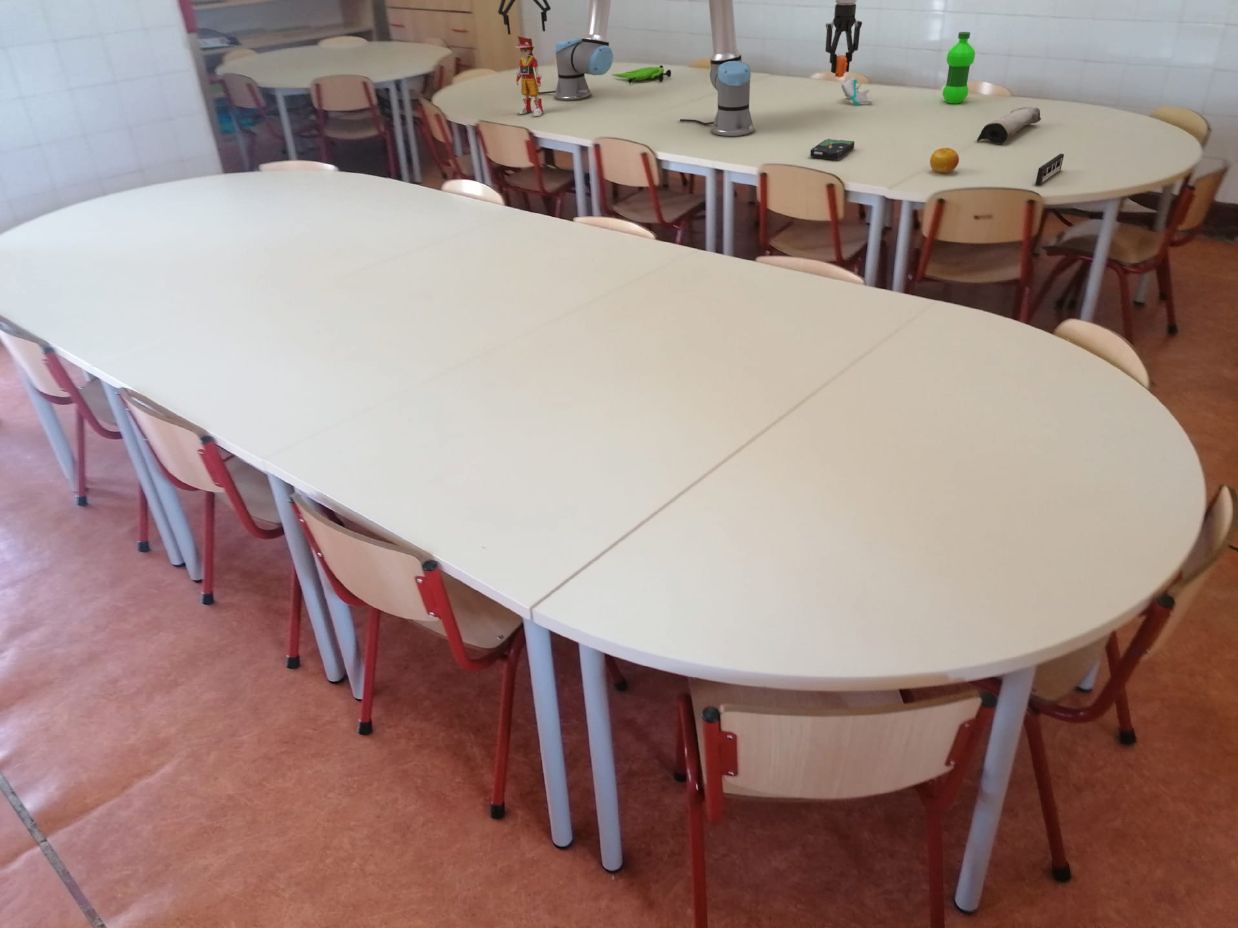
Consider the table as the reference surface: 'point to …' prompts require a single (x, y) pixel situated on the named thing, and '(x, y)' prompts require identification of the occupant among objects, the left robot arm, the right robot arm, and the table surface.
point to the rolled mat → (1009, 124)
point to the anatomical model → (855, 92)
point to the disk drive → (832, 149)
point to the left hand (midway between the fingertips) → (526, 32)
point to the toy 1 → (529, 77)
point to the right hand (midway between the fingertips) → (839, 71)
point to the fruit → (944, 160)
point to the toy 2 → (645, 74)
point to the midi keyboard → (1049, 169)
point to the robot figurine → (841, 66)
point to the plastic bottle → (958, 69)
